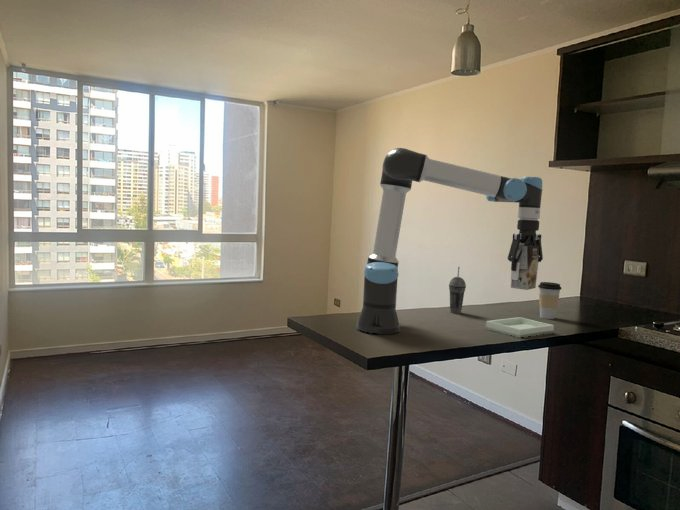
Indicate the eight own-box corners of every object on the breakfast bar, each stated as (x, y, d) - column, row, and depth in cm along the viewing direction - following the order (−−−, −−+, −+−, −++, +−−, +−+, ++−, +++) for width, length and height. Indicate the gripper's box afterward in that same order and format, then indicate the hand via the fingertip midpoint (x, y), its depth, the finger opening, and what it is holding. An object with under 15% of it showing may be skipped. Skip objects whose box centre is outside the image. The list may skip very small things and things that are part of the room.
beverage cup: (446, 313, 220) (449, 266, 219) (447, 310, 227) (450, 265, 226) (463, 314, 218) (466, 268, 217) (464, 312, 225) (467, 266, 223)
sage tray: (519, 338, 180) (520, 329, 180) (485, 328, 193) (486, 321, 193) (553, 333, 192) (554, 325, 191) (519, 324, 204) (519, 317, 204)
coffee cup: (554, 316, 226) (557, 282, 225) (561, 320, 217) (565, 285, 215) (532, 314, 227) (535, 281, 226) (538, 319, 218) (541, 284, 216)
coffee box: (527, 290, 185) (531, 246, 184) (510, 288, 189) (513, 244, 188) (536, 288, 192) (539, 245, 191) (519, 286, 196) (522, 244, 195)
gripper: (517, 218, 179) (512, 281, 181) (556, 220, 192) (551, 279, 194) (500, 218, 185) (495, 279, 187) (538, 220, 198) (534, 277, 200)
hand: (523, 279), depth 191 cm, fingers closed on coffee box, 10 cm apart
